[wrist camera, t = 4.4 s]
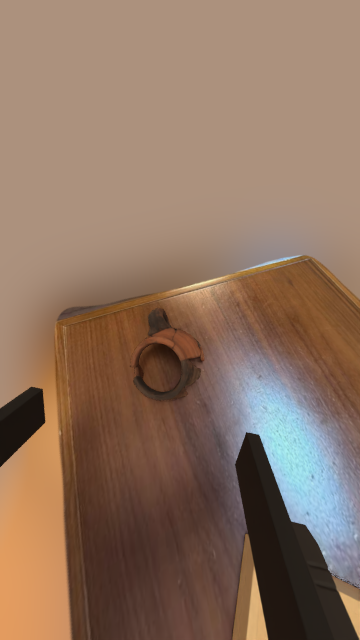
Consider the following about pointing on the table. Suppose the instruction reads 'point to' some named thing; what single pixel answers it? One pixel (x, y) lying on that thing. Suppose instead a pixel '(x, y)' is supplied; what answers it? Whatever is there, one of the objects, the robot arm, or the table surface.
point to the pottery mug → (179, 344)
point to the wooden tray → (249, 610)
